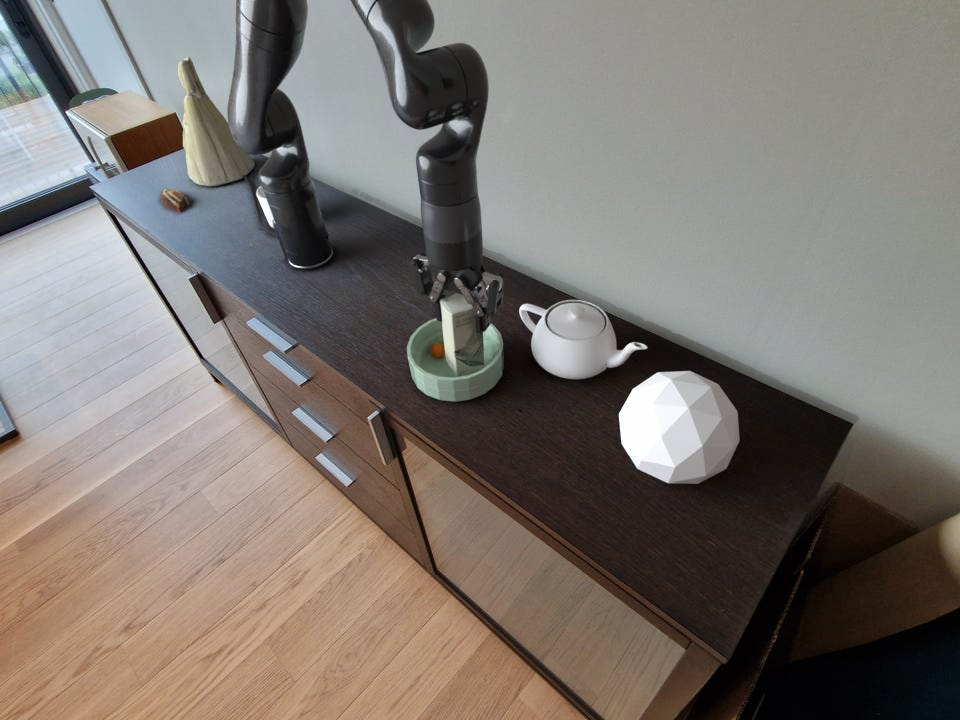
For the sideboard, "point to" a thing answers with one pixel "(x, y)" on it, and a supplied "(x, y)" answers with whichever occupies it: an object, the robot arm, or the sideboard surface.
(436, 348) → the ball
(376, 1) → the robot arm
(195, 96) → the sculpture
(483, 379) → the bowl
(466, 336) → the box
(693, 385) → the geometric shape
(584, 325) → the teapot
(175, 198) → the brown striped bar
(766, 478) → the sideboard surface
